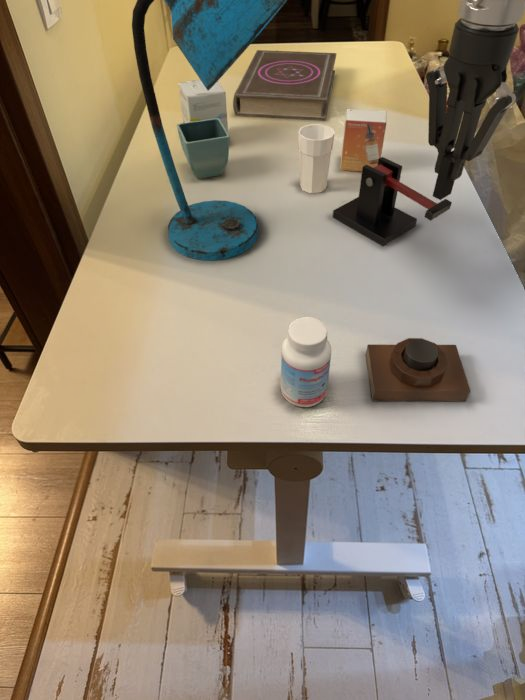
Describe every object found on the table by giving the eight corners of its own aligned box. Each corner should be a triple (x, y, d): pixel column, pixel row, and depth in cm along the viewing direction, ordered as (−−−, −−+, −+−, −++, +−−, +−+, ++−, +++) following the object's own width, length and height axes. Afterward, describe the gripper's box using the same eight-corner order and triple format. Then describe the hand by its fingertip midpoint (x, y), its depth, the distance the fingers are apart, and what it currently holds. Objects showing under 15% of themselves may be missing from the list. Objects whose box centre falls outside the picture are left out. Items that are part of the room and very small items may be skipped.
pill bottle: (303, 417, 65) (307, 358, 57) (271, 388, 69) (270, 329, 60) (336, 391, 68) (344, 331, 60) (304, 365, 71) (307, 305, 63)
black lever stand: (415, 226, 93) (428, 170, 85) (382, 246, 89) (393, 189, 81) (365, 199, 99) (373, 145, 91) (332, 217, 95) (337, 162, 87)
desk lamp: (274, 270, 85) (274, -82, 52) (150, 252, 89) (76, -86, 56) (294, 216, 96) (304, -105, 63) (182, 203, 100) (135, -107, 66)
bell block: (452, 355, 72) (459, 335, 69) (466, 401, 67) (474, 381, 64) (365, 355, 72) (369, 335, 69) (372, 400, 67) (376, 381, 64)
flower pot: (233, 178, 106) (230, 135, 99) (190, 186, 104) (185, 143, 97) (222, 159, 111) (218, 117, 105) (182, 166, 110) (176, 123, 103)
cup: (327, 196, 100) (332, 141, 92) (294, 193, 101) (295, 138, 93) (331, 179, 105) (336, 125, 96) (299, 176, 106) (301, 122, 97)
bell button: (431, 348, 68) (434, 339, 67) (438, 371, 65) (441, 362, 64) (401, 348, 68) (403, 338, 67) (406, 371, 65) (408, 362, 64)
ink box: (230, 145, 115) (226, 90, 107) (193, 152, 114) (186, 96, 105) (219, 129, 121) (215, 75, 112) (184, 135, 119) (176, 81, 110)
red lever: (448, 212, 84) (453, 199, 82) (429, 224, 82) (434, 211, 80) (382, 173, 90) (385, 161, 88) (363, 183, 88) (366, 171, 86)
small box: (339, 171, 107) (344, 119, 99) (341, 157, 110) (346, 107, 103) (378, 173, 106) (387, 122, 98) (379, 160, 110) (387, 109, 102)
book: (325, 120, 123) (326, 98, 119) (233, 115, 126) (232, 94, 122) (334, 72, 143) (336, 52, 140) (255, 69, 146) (255, 49, 142)
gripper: (425, 16, 65) (393, 187, 82) (520, 41, 58) (463, 222, 75) (460, 3, 68) (422, 171, 85) (554, 26, 61) (492, 203, 78)
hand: (441, 194), depth 80 cm, fingers closed
